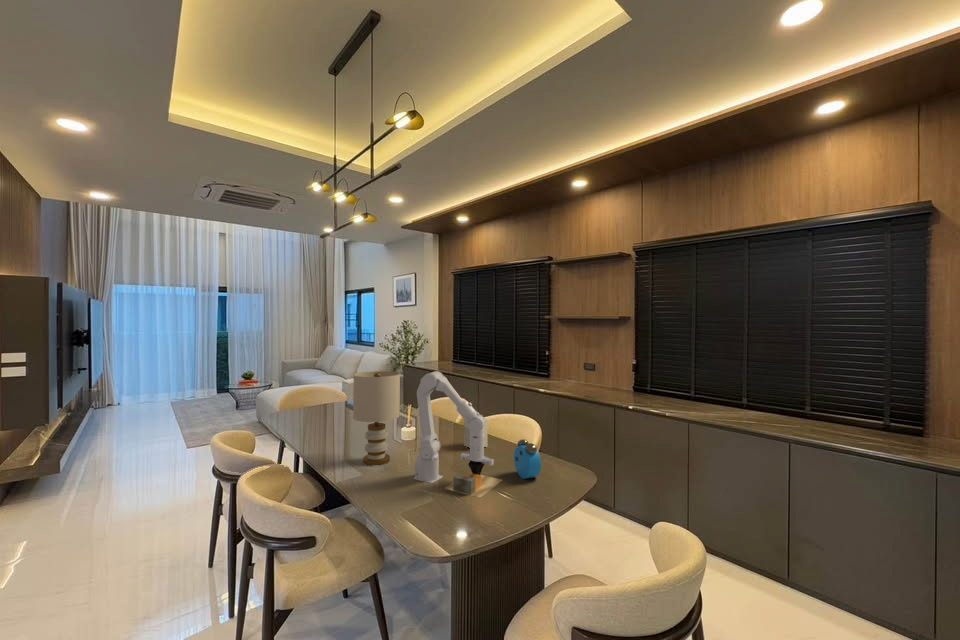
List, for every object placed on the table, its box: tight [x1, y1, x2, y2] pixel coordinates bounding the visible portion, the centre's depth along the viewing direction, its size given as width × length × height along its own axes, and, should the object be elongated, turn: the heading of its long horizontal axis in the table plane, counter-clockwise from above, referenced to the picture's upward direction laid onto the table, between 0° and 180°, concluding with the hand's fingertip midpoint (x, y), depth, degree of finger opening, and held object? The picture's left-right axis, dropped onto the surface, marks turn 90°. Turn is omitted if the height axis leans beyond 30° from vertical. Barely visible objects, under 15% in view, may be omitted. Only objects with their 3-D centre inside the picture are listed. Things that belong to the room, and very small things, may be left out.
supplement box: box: [463, 417, 488, 449], centre depth 204 cm, size 9×9×15 cm
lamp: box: [352, 370, 401, 466], centre depth 182 cm, size 21×21×41 cm
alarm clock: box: [513, 438, 542, 480], centre depth 164 cm, size 13×6×15 cm, turn 23°
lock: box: [464, 472, 482, 491], centre depth 153 cm, size 6×6×5 cm
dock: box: [443, 472, 503, 499], centre depth 156 cm, size 16×19×5 cm
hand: (476, 479), depth 157 cm, fingers closed
